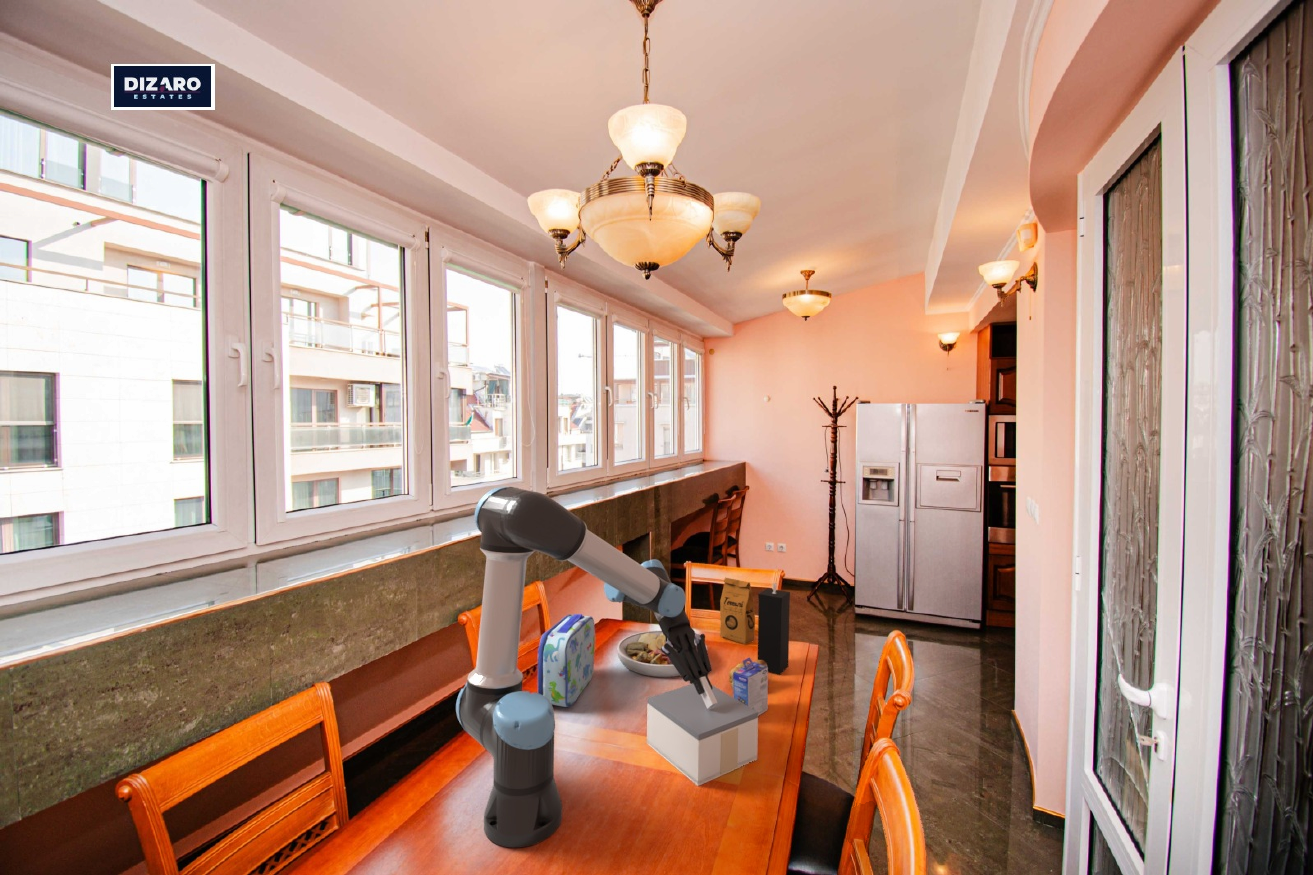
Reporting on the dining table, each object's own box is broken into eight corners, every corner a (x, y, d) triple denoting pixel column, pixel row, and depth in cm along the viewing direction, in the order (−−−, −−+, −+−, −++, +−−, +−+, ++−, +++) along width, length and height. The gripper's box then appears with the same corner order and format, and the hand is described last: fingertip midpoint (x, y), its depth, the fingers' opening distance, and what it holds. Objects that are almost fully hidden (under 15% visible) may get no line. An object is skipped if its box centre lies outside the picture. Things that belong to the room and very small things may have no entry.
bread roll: (745, 700, 165) (746, 672, 165) (718, 689, 172) (719, 662, 171) (770, 686, 174) (770, 660, 174) (744, 676, 181) (744, 650, 181)
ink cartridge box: (751, 703, 163) (752, 652, 163) (768, 710, 159) (769, 658, 159) (731, 715, 156) (732, 663, 156) (748, 723, 152) (749, 669, 152)
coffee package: (744, 647, 204) (745, 586, 203) (715, 638, 212) (716, 579, 212) (759, 640, 211) (760, 580, 210) (731, 631, 219) (732, 574, 219)
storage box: (646, 743, 142) (647, 703, 141) (703, 722, 152) (703, 685, 152) (698, 786, 125) (699, 741, 125) (757, 760, 135) (758, 718, 135)
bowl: (598, 662, 190) (598, 639, 190) (657, 637, 213) (657, 616, 213) (668, 691, 171) (668, 664, 170) (724, 660, 193) (725, 637, 193)
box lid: (647, 702, 141) (647, 697, 141) (703, 684, 152) (703, 680, 152) (698, 740, 125) (698, 734, 125) (758, 717, 135) (758, 712, 135)
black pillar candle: (788, 667, 188) (790, 582, 187) (780, 675, 181) (781, 587, 180) (766, 661, 192) (767, 578, 191) (756, 669, 185) (758, 583, 185)
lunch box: (565, 671, 183) (566, 605, 182) (598, 674, 180) (599, 608, 180) (532, 710, 157) (532, 635, 157) (569, 715, 155) (570, 638, 154)
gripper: (684, 618, 155) (725, 704, 141) (644, 627, 147) (683, 720, 134) (697, 603, 150) (740, 691, 137) (656, 613, 143) (698, 707, 130)
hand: (712, 705), depth 136 cm, fingers closed
